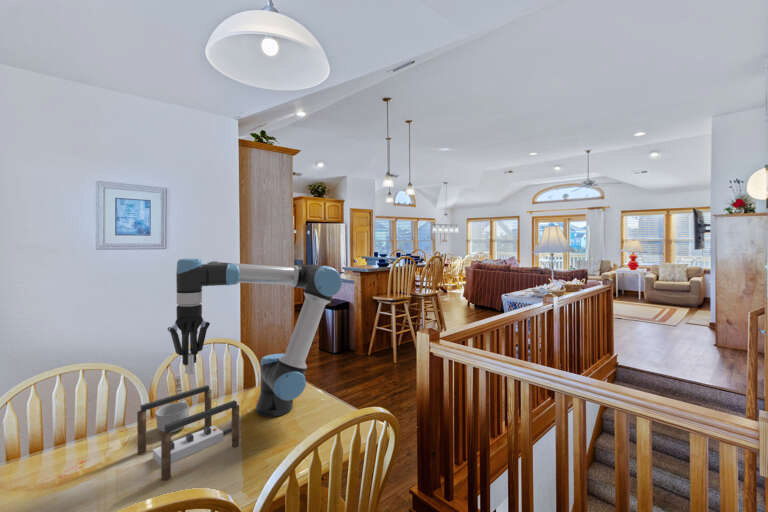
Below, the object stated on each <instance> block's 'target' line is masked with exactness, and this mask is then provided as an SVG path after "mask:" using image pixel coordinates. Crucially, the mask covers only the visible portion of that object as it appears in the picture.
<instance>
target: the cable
mask: <svg viewBox="0 0 768 512" xmlns="http://www.w3.org/2000/svg"><path fill="white" fill-rule="evenodd" d="M237 405H238V402H237V401H236V400H235V399H234V400H232V401H228V402H225V403H223V404H220V405H217V406H214V407H212V409H209V410H206V411H205V410H204V411H201V412H198V413H195V414H191V415H189V417H187V418H184V419H181V420H178V421H175V422H173V423H170V424H167V425H165V431H166V432H169V431H172V430H175V429H177V428H180V427H183V426H184V427H185V426H187V425H190V424H193V423H196V422H198V421H201V420H203V419H204V420H205V418H207V417H209V416H212V417H213V416H215V415H218V414H220V413H222V412H225V411H228V410H230V409H231V410H232V408H233V407H236V406H237ZM184 427H183V428H184Z"/></svg>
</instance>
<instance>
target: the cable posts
mask: <svg viewBox="0 0 768 512" xmlns="http://www.w3.org/2000/svg"><path fill="white" fill-rule="evenodd" d="M212 392H213V390H212V389H210V388H209V391H205V392H204V411H206V410H209V409H212V408H213V407H212V405H213V404H212V402H213V401H212V395H213V394H212ZM212 418H213V415H212V416H209V417H207V418H204V427H207V426H208V427H211V426H213V425H212V422H213V421H212ZM136 419H137V427H136V428H137V455H144V454H145V452H147V410H145V411H142V410H141V409H140V410H138V411H137V418H136ZM231 427H232V432H231V447H232V449H234V448H237V447H239V446H240V405H239V404H237V406H236V407H233V408H231ZM171 434H172V433H171V431H169V432H166V431H163V432H162V431H161V434H160V442H161V443H160V445H161V446H160V447H161V467H160V468H161V470H160V472H161V473H160V474H161V481H165V482H166V481H168V480H170V479H171V477H172V474H171V473H172V469H171V468H172V466H171V464H172V463H171V441H172V435H171Z"/></svg>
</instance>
